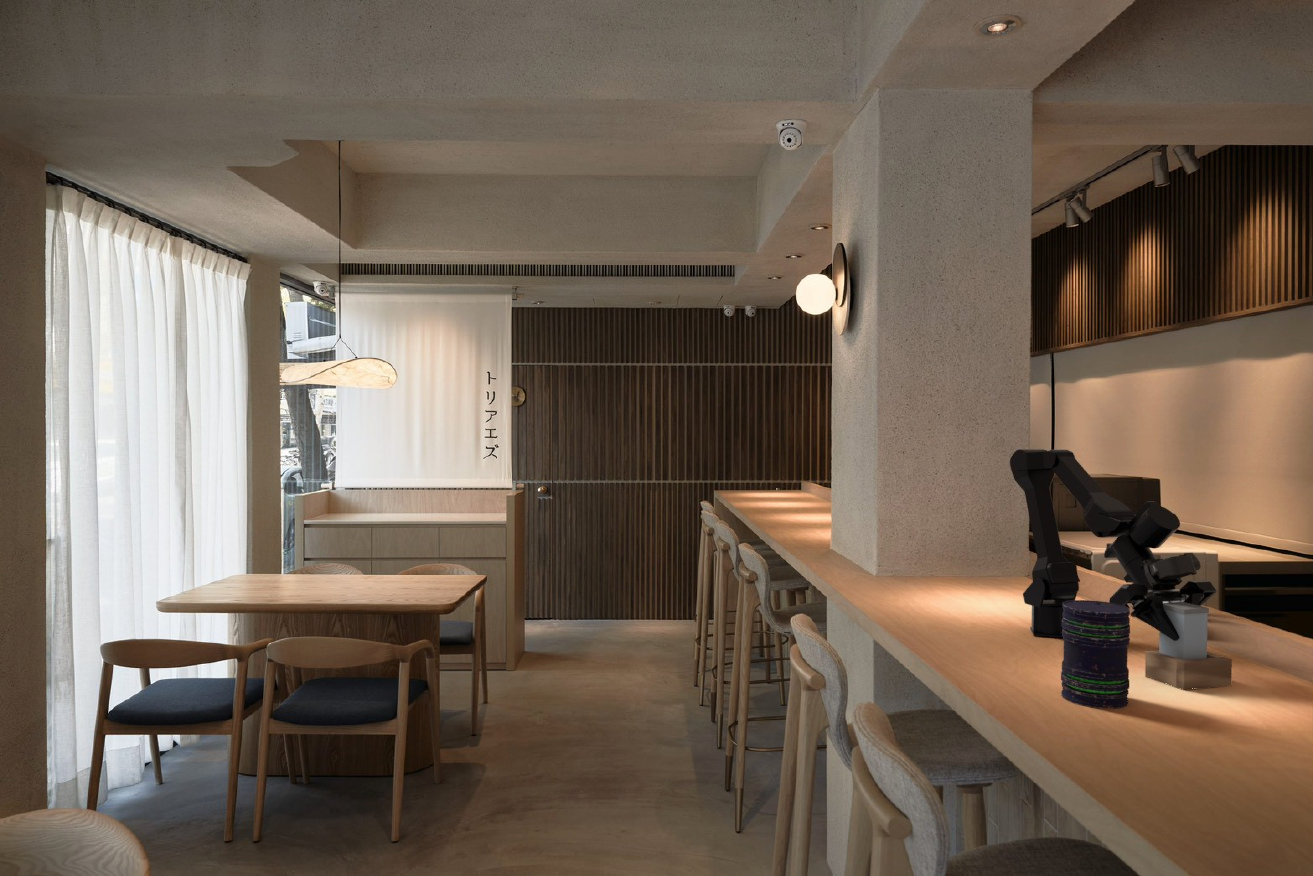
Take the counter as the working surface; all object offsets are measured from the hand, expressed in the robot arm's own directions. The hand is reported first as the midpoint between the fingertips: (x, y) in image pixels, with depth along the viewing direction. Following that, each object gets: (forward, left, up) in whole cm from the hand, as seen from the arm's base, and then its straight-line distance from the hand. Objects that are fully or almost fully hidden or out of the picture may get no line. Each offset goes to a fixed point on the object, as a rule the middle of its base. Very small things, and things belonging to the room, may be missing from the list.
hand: (1189, 638), depth 151 cm
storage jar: (-17, -16, -8) cm, 25 cm away
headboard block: (-1, +1, -7) cm, 8 cm away
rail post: (-1, +1, -7) cm, 7 cm away
